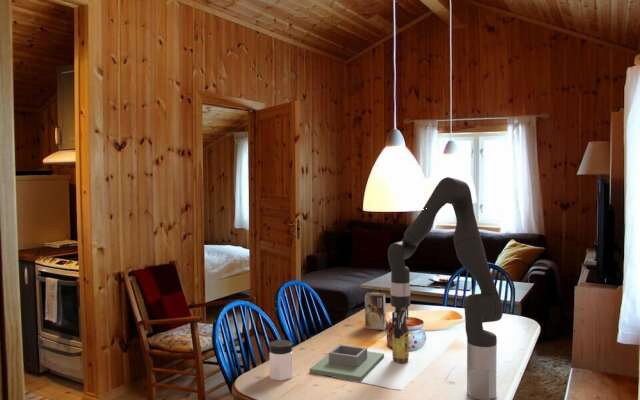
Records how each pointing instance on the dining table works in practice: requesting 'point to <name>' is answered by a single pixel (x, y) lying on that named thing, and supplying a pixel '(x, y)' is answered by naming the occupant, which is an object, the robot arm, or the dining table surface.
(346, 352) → the deck plate
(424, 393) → the dining table surface
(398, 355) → the sauce bottle
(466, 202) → the robot arm
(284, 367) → the jar
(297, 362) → the dining table surface
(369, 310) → the coffee box
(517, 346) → the dining table surface
